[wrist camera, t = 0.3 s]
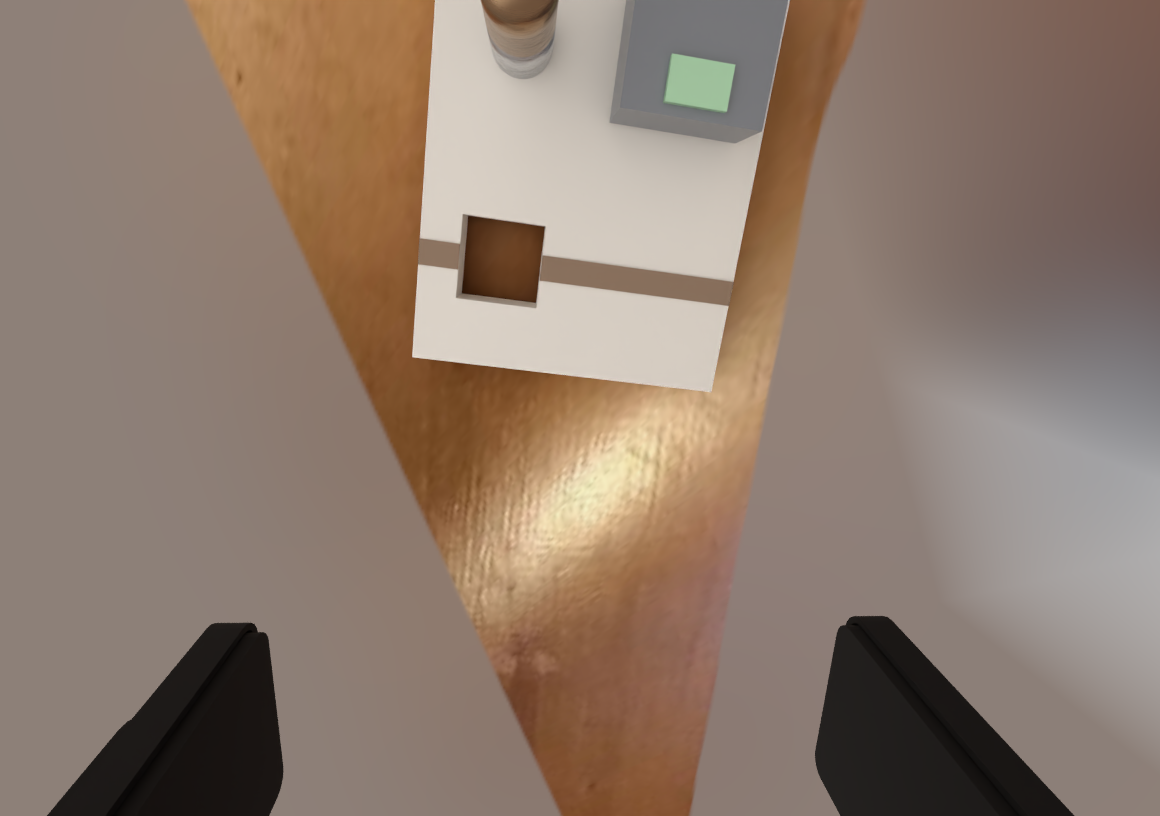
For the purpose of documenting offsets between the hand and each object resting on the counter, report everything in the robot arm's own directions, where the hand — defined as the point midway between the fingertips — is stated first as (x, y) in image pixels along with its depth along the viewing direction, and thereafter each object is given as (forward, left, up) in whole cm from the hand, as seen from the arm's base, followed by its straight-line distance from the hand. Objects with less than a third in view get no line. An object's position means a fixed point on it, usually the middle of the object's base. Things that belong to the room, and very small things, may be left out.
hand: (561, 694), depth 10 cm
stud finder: (-16, +6, -27) cm, 32 cm away
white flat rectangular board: (-10, +2, -30) cm, 32 cm away
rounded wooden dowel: (-16, -3, -27) cm, 32 cm away
